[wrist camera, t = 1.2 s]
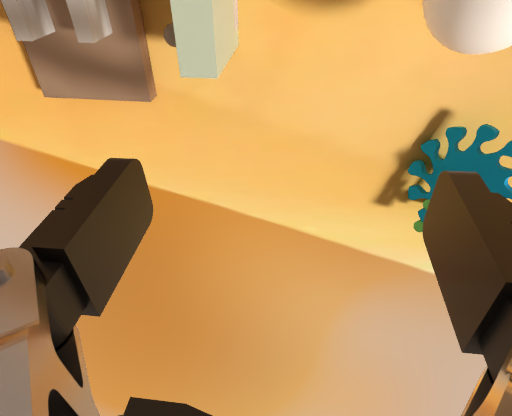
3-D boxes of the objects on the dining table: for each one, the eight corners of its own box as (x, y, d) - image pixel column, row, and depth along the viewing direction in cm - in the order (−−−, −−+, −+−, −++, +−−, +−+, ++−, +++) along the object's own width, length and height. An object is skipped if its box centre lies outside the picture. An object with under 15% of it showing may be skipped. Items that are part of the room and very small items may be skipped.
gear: (470, 96, 27) (575, 199, 24) (496, 96, 31) (591, 184, 27) (375, 185, 35) (444, 272, 32) (405, 176, 39) (470, 253, 35)
